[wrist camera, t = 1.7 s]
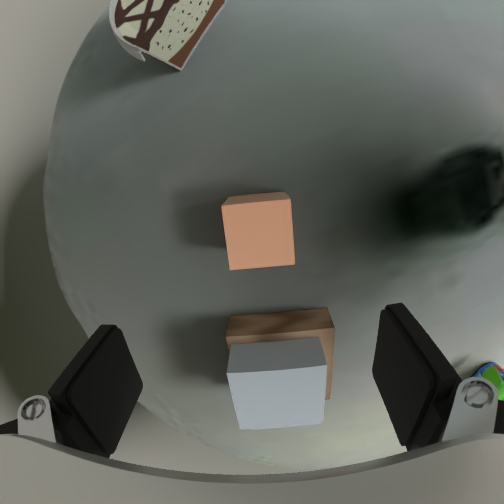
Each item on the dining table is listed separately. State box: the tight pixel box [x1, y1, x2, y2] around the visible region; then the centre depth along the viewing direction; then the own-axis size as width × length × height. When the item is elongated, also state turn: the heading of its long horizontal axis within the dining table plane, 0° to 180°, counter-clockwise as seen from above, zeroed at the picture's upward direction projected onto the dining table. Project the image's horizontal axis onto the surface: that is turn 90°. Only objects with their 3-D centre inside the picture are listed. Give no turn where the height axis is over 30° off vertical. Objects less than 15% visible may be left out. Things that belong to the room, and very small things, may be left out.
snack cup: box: [473, 362, 504, 401], centre depth 31 cm, size 16×10×10 cm
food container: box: [109, 0, 226, 71], centre depth 17 cm, size 12×6×10 cm, turn 152°
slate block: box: [227, 337, 327, 430], centre depth 28 cm, size 9×9×4 cm
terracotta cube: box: [221, 191, 295, 270], centre depth 26 cm, size 6×6×6 cm
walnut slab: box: [226, 308, 335, 400], centre depth 32 cm, size 11×11×4 cm
